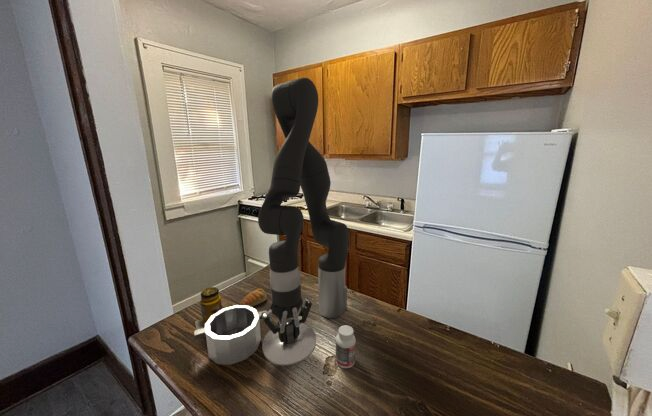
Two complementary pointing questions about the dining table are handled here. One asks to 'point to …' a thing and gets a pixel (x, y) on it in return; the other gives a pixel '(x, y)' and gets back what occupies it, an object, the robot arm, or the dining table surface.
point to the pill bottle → (345, 347)
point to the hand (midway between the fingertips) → (289, 339)
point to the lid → (289, 345)
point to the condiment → (209, 305)
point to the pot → (232, 334)
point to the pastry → (254, 298)
